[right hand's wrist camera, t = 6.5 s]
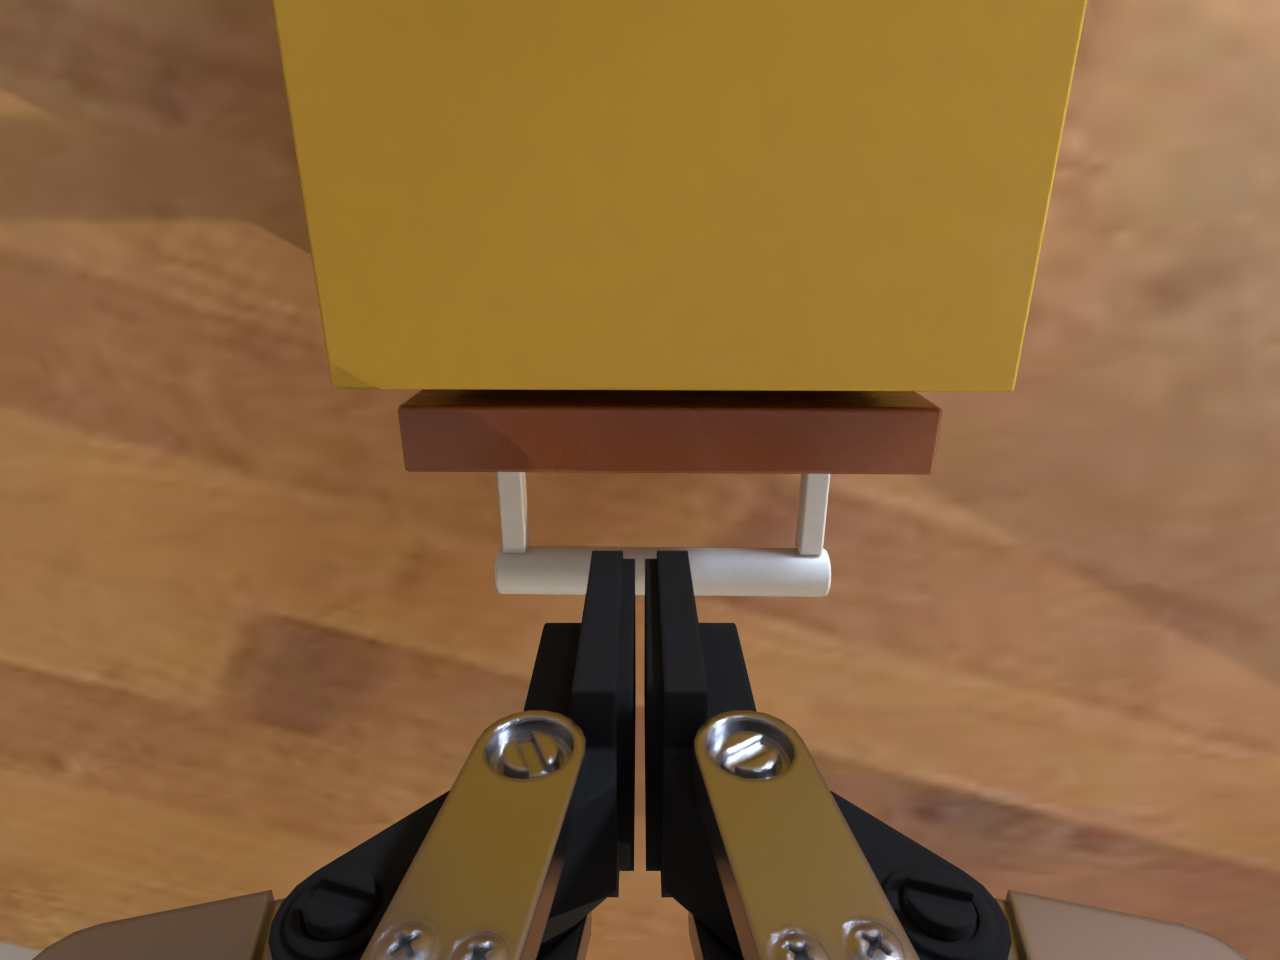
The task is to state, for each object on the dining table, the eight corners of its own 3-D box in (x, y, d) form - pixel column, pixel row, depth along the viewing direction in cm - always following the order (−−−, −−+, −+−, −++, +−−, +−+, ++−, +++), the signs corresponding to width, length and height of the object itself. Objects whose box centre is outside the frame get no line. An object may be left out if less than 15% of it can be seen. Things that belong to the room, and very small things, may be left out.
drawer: (805, 528, 22) (897, 714, 14) (515, 526, 22) (433, 709, 14) (881, -325, 15) (1163, -1001, 7) (458, -320, 15) (223, -975, 7)
